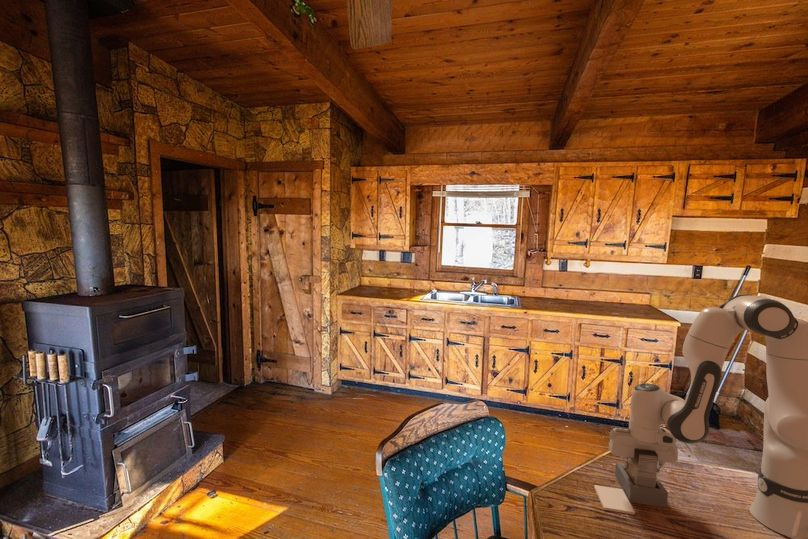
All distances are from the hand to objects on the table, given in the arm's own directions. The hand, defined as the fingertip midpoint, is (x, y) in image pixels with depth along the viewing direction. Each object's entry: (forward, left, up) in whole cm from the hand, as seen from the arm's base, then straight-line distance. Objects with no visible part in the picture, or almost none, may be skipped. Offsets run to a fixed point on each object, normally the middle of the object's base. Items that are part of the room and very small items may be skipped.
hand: (640, 469), depth 127 cm
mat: (+11, +7, -8) cm, 15 cm away
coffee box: (0, 0, -8) cm, 8 cm away
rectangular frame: (0, 0, -8) cm, 8 cm away
